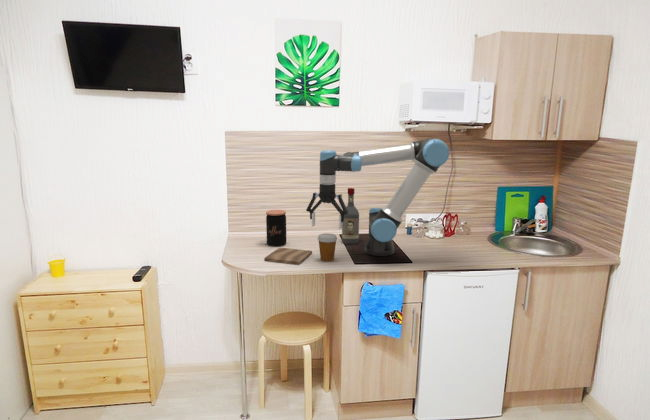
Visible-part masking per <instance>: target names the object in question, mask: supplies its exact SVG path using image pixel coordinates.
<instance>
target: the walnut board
mask: <svg viewBox="0 0 650 420" xmlns="http://www.w3.org/2000/svg"><path fill="white" fill-rule="evenodd" d="M312 254H313V251H312V250H310V249H309V250H307V249H300V248H299V249H297V248H290V247H289V248H287V247H281V246H278V248H276V249H275V250H274V251H272V252H271V253H270V254H268V255H266V256H265V257H264V258H263V259H264V262H269V263H278V264H279V263H280V264H286V265H287V264H288V265H295V266H296V265H297V266H300V265H301V264H302V263H304V261H305V260H307V259H308V258H309V257H310V256H311V255H312Z"/></svg>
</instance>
